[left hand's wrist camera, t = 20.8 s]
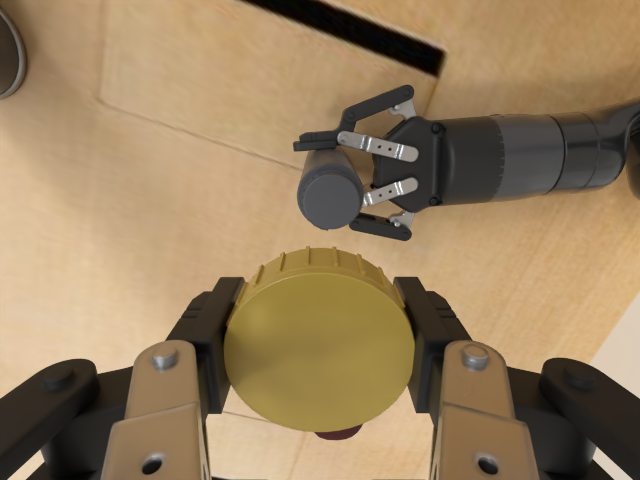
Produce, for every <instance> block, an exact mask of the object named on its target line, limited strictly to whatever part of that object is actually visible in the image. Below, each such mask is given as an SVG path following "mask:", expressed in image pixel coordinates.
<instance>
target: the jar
mask: <svg viewBox="0 0 640 480" xmlns="http://www.w3.org/2000/svg"><path fill="white" fill-rule="evenodd" d="M297 200H298V205H299V208H300V210H301V212H302V214H303V215H304V217H305V218H306V219H307V220H308V221H310V222H311V223H312V224H313V225H314V226H316V227H318V228H320V229H322V230H328V229H337V228H341V227H343V226H345V225H347V224H348V223H350V222H351V221H352V220H353V219H355V217H356V216H357V215H358V214H359V212H360V210H361V208H362V205H363V201H364V190H363V186H362V183H361V181H360V179H359V177H358V176H357V174H356V172H355V170H354V169H353V167H352V165H351V164H350V162H349V160H348V158H347V157H346V155H345V153H344V152H343V150H342V149H341V148H340V147H339V146H337V148H335V149H322V150H310V151H309V153H308V155H307V159H306V162H305V166H304V169H303V173H302V176H301V180H300V184H299V187H298V192H297Z"/></svg>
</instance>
